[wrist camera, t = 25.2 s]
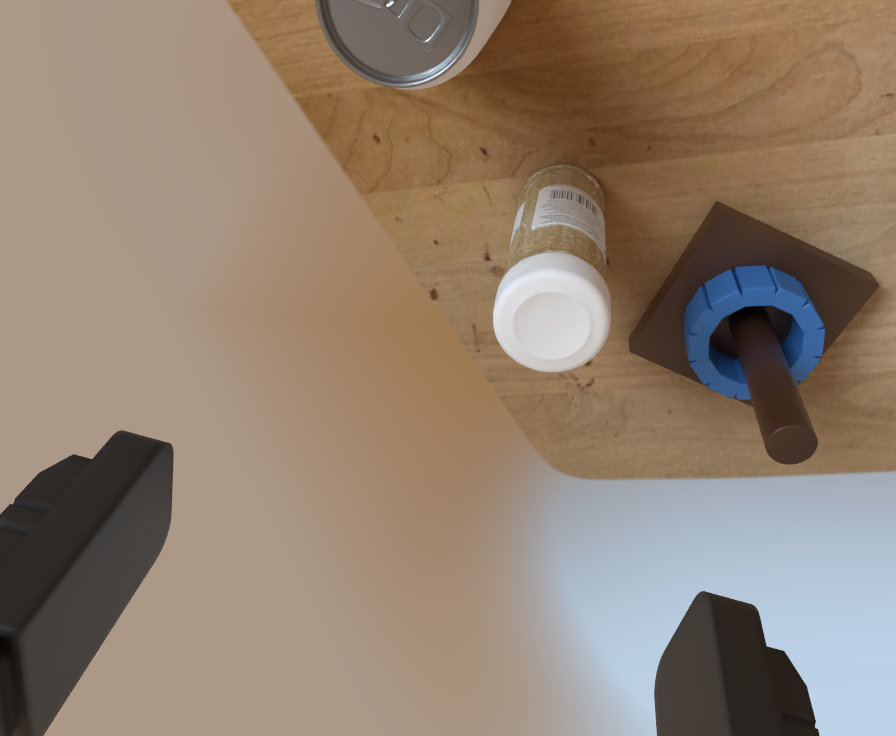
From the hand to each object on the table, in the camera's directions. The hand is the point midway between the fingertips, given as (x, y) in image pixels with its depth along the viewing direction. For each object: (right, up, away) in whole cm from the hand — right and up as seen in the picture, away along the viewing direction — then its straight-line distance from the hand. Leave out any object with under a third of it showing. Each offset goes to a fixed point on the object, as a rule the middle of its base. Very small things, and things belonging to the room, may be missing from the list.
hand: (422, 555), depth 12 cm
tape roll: (+16, +5, +30) cm, 35 cm away
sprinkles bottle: (+6, +11, +30) cm, 33 cm away
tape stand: (+16, +6, +31) cm, 36 cm away
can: (+1, +21, +25) cm, 33 cm away
